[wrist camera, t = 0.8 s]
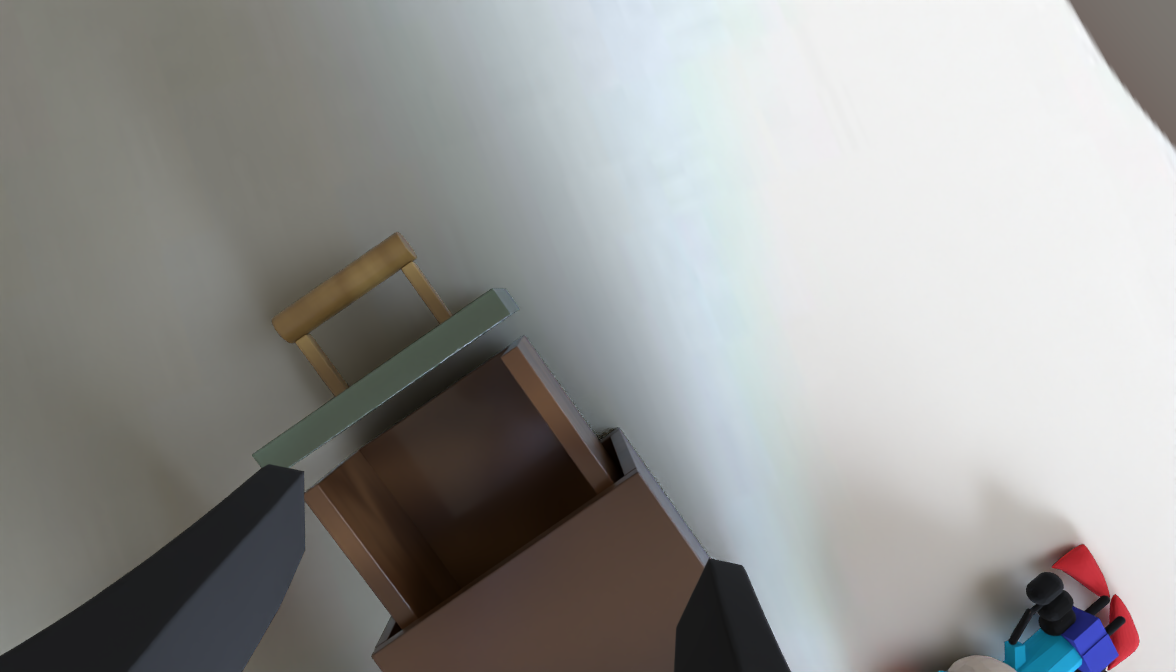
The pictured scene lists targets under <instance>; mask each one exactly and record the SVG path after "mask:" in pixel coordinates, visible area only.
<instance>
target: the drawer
mask: <svg viewBox="0 0 1176 672" xmlns="http://www.w3.org/2000/svg"><path fill="white" fill-rule="evenodd" d="M416 258H417V256H416V254H415V252H414V250H413V249H412V247H411V246H410V244H409V243H408V242H407V240H406V239H405V238H404V237H403V236H402V235H401V234H400V233H399V232H395V233H394V234H392V235H391V236H389V237H388V238H387V239H385V240H384V241H382V242H381V243H379V244H378V245H376V246H375V247H374V248H372V249H371V250H369V251H368V252H366V253H365V254H363V255H362V256H361V257H359V258H358V259H356V260H355V261H353V262H352V263H350V264H349V265H348V266H346V267H345V268H343V269H342V270H340V271H339V272H337V273H336V274H335V275H333V276H332V277H330V278H329V279H327V280H326V281H324V282H323V283H322V284H320V285H319V286H317V287H316V288H314V289H313V290H311V291H310V292H309V293H307V294H306V295H304V296H303V297H301V298H300V299H298V300H297V301H296V302H294V303H293V304H291V305H290V306H288V307H287V308H285V309H284V310H283V311H281V312H280V313H278V314H277V315H275V316H274V317H273V318H272V324H273V326H274V328H275V330H276V331H277V332H278V334H279V335H280V336H281V337H282V338H283V339H284V340H286V341H287V342H289V343H291V344H293V343H296V344H297V346H298V347H299V348H300V350H301V351H302V352H303V354H304V355H305V357H306V358H307V359H308V361H309V362H310V363H311V365H312V366H313V367H314V369H315V370H316V371H317V373H318V374H319V376H320V377H321V378H322V380H323V381H324V382H325V384H326V385H327V386H328V388H329V389H330V390H331V392H332V393H333V395H334V396H335V397H334V398H333V399H331V400H330V401H329V402H327V403H326V404H324V405H323V406H321V407H320V408H318V409H317V410H316V411H314V412H313V413H311V414H310V415H308V416H307V417H305V418H304V419H303V420H301V421H300V422H298V423H297V424H295V425H294V426H292V427H291V428H290V429H288V430H287V431H285V432H284V433H282V434H281V435H279V436H278V437H277V438H275V439H274V440H272V441H271V442H269V443H268V444H266V445H265V446H264V447H262V448H261V449H259V450H258V451H256V452H255V453H253V454H252V456H253V457H254V459H255V460H256V461H257V463H258V464H259V465H260V467H261V468H262V467H264V466H266V465H268V464H271V465H276V466H281V467H285V468H290V467H292V466H293V465H294V464H296V463H297V462H299V461H300V460H302V459H303V458H305V457H306V456H308V455H309V454H311V453H312V452H314V451H315V450H317V449H318V448H320V447H321V446H323V445H324V444H326V443H327V442H329V441H330V440H331V439H333V438H334V437H336V436H337V435H339V434H340V433H342V432H343V431H344V430H346V429H347V428H349V427H350V426H352V425H353V424H355V423H356V422H357V421H359V420H360V419H362V418H363V417H365V416H366V415H368V414H369V413H370V412H372V411H373V410H375V409H376V408H378V407H379V406H381V405H382V404H383V403H385V402H386V401H388V400H389V399H391V398H392V397H394V396H395V395H397V394H398V393H399V392H401V391H402V390H404V389H405V388H407V387H408V386H410V385H411V384H412V383H414V382H415V381H417V380H418V379H420V378H421V377H423V376H424V375H425V374H427V373H428V372H430V371H431V370H433V369H434V368H436V367H437V366H438V365H440V364H441V363H443V362H444V361H446V360H447V359H449V358H450V357H451V356H453V355H454V354H456V353H457V352H459V351H460V350H462V349H463V348H464V347H466V346H467V345H469V344H470V343H472V342H473V341H475V340H476V339H477V338H479V337H480V336H482V335H483V334H485V333H486V332H488V331H489V330H490V329H492V328H493V327H495V326H496V325H498V324H499V323H501V322H502V321H503V320H505V319H506V318H508V317H509V316H511V315H512V314H514V313H515V312H516V311H518V310H519V309H520V308H519V306H518V305H517V304H516V302H515V301H514V299H513V298H512V296H511V295H510V294H509V292H508V291H507V289H506V288H493V289H490V290H489V291H488V292H486V293H485V294H483V295H482V296H480V297H479V298H477V299H476V300H475V301H473V302H472V303H470V304H469V305H467V306H466V307H464V308H463V309H462V310H460V311H459V312H457V313H456V314H454V315H452V314H451V312H450V311H449V309H448V308H447V307H446V305H445V304H444V302H443V301H442V300H441V298H440V297H439V295H438V294H437V293H436V291H435V290H434V288H433V287H432V286H431V284H430V283H429V281H428V280H427V278H426V277H425V276H424V274H423V273H422V271H421V270H420V269H419V267H418V266H417V264H416V263H415V262H413V261H414V260H415V259H416ZM399 270H402V272H403V273H404V274H405V276H406V277H407V279H408V280H409V281H410V283H411V284H412V286H413V287H414V288H415V290H416V291H417V293H418V294H419V295H420V297H421V298H422V300H423V301H424V302H425V304H426V305H427V307H428V308H429V309H430V311H431V312H432V314H433V315H434V316H435V318H436V319H437V321H438V322H439V323H440V325H438V326H437V327H436V328H434V329H433V330H431V331H430V332H428V333H427V334H425V335H424V336H423V337H421V338H420V339H418V340H417V341H415V342H414V343H412V344H411V345H410V346H408V347H407V348H405V349H404V350H402V351H401V352H399V353H398V354H397V355H395V356H394V357H392V358H391V359H389V360H388V361H386V362H385V363H384V364H382V365H381V366H379V367H378V368H376V369H375V370H373V371H372V372H370V373H369V374H368V375H366V376H365V377H363V378H362V379H360V380H359V381H357V382H356V383H355V384H353V385H352V386H350V387H349V386H348V384H347V383H346V382H345V380H344V379H343V377H342V376H341V375H340V373H339V372H338V371H337V369H336V368H335V367H334V365H333V364H332V362H331V361H330V360H329V358H328V357H327V356H326V354H325V353H324V352H323V350H322V349H321V347H320V346H319V345H318V343H317V342H316V341H315V339H314V338H313V337H312V335H311V334H308V333H310V332H311V331H313V330H314V329H316V328H317V327H319V326H320V325H321V324H323V323H324V322H326V321H327V320H329V319H330V318H332V317H333V316H334V315H336V314H337V313H339V312H340V311H342V310H343V309H345V308H346V307H347V306H349V305H350V304H352V303H353V302H355V301H356V300H358V299H359V298H360V297H362V296H363V295H365V294H366V293H368V292H369V291H371V290H372V289H373V288H375V287H376V286H378V285H379V284H381V283H382V282H384V281H385V280H386V279H388V278H389V277H391V276H392V275H394V274H395V273H397V272H398V271H399ZM623 477H624V475H623V474H622V472H621V471H620V470H619V468H618V467H617V465H616V464H615V462H614V461H613V460H612V458H611V457H610V455H609V454H608V452H607V451H606V450H605V448H604V447H603V445H602V444H601V442H600V441H599V440H598V438H597V437H596V435H595V434H594V432H593V431H592V430H591V428H590V427H589V425H588V424H587V423H586V421H585V420H584V418H583V417H582V415H581V414H580V413H579V411H578V410H577V408H576V407H575V405H574V404H573V403H572V401H571V400H570V398H569V397H568V395H567V394H566V393H565V391H564V390H563V388H562V387H561V385H560V384H559V383H558V381H557V380H556V378H555V377H554V375H553V374H552V373H551V371H550V370H549V368H548V367H547V365H546V364H545V363H544V361H543V360H542V358H541V357H540V355H539V354H538V353H537V351H536V350H535V348H534V347H533V345H532V344H531V343H530V341H529V340H528V338H527V337H526V336H525V335H523V336H522V337H520V338H519V339H517V340H516V341H514V342H513V343H512V344H510V345H509V346H507V347H506V348H504V349H503V350H501V351H500V352H499V353H497V354H496V355H494V356H493V357H491V358H490V359H488V360H487V361H486V362H484V363H483V364H481V365H480V366H478V367H477V368H475V369H474V370H472V371H471V372H470V373H468V374H467V375H465V376H464V377H462V378H461V379H459V380H458V381H457V382H455V383H454V384H452V385H451V386H449V387H448V388H446V389H445V390H444V391H442V392H441V393H439V394H438V395H436V396H435V397H433V398H432V399H431V400H429V401H428V402H426V403H425V404H423V405H422V406H420V407H419V408H418V409H416V410H415V411H413V412H412V413H410V414H409V415H407V416H406V417H405V418H403V419H402V420H400V421H399V422H397V423H396V424H394V425H393V426H392V427H390V428H389V429H387V430H386V431H384V432H383V433H381V434H380V435H379V436H377V437H376V438H374V439H373V440H371V441H370V442H368V443H367V444H366V445H364V446H363V447H361V448H360V449H358V450H357V451H355V452H354V453H352V454H351V455H350V456H349V457H347V458H346V459H345V460H344V461H342V462H341V463H340V464H339V465H337V466H336V467H335V468H334V469H333V470H331V471H330V472H329V473H328V474H326V475H325V476H324V477H323V478H322V479H320V480H319V481H318V482H317V483H315V484H314V485H313V486H312V487H310V488H309V489H308V490H307V491H306V492H304V500H305V502H306V503H307V504H308V506H309V507H310V508H311V510H312V511H313V512H314V514H315V515H316V516H317V518H318V519H319V520H320V522H321V523H322V524H323V526H324V527H325V528H326V530H327V531H328V532H329V534H330V535H331V536H332V538H333V539H334V540H335V542H336V543H337V544H338V546H339V547H340V548H341V549H342V551H343V552H344V553H345V555H346V556H347V557H348V559H349V560H350V561H351V563H352V564H353V565H354V567H355V568H356V569H357V571H358V572H359V573H360V575H361V576H362V577H363V579H364V580H365V581H366V583H367V584H368V585H369V587H370V588H371V589H372V591H373V592H374V593H375V595H376V596H377V597H378V599H379V600H380V601H381V603H382V604H383V605H384V607H385V608H386V609H387V611H388V612H389V613H390V615H391V616H392V617H393V619H394V620H395V621H396V622H397V624H398V625H399V626H400V628H401V629H402V630H403V629H404V628H405V627H407V626H408V625H410V624H411V623H413V622H414V621H416V620H417V619H418V618H420V617H421V616H423V615H424V614H426V613H427V612H429V611H430V610H432V609H433V608H434V607H436V606H437V605H439V604H440V603H442V602H443V601H445V600H446V599H447V598H449V597H450V596H452V595H453V594H455V593H456V592H458V591H459V590H460V589H462V588H463V587H465V586H466V585H468V584H469V583H471V582H472V581H474V580H475V579H476V578H478V577H479V576H481V575H482V574H484V573H485V572H487V571H488V570H489V569H491V568H492V567H494V566H495V565H497V564H498V563H500V562H501V561H502V560H504V559H505V558H507V557H508V556H510V555H511V554H513V553H514V552H515V551H517V550H518V549H520V548H521V547H523V546H524V545H526V544H527V543H529V542H530V541H531V540H533V539H534V538H536V537H537V536H539V535H540V534H542V533H543V532H544V531H546V530H547V529H549V528H550V527H552V526H553V525H555V524H556V523H557V522H559V521H560V520H562V519H563V518H565V517H566V516H568V515H569V514H570V513H572V512H573V511H575V510H576V509H578V508H579V507H581V506H582V505H584V504H585V503H586V502H588V501H589V500H591V499H592V498H594V497H595V496H597V495H598V494H599V493H601V492H602V491H604V490H605V489H607V488H608V487H610V486H611V485H612V484H614V483H615V482H617V481H618V480H620V479H621V478H623Z"/></svg>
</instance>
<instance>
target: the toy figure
mask: <svg viewBox="0 0 1176 672" xmlns="http://www.w3.org/2000/svg"><path fill="white" fill-rule="evenodd" d="M1052 568H1055V569H1060V570H1062V571H1063V572H1065V573H1067V574H1068V575H1070V576H1071V577H1073V578H1074V579H1075V580H1077V581H1078V582H1080V583H1081V584H1082V585H1084V586H1085V587H1086V588H1088V589H1089V590H1090V591H1092V592H1093V593H1095V594H1096V595H1098V596H1100V598H1099V599H1098V600H1097V601H1095V602H1094V603H1093V604H1092V605H1091V606H1090V607H1089V608H1087V609H1086V610H1085V611H1083V610H1080V609H1078V608H1076V607H1074V606H1073V599H1072V597H1071V596H1070V595H1069V593H1067V592H1066V591H1064V590H1063V588H1064V585H1063V582H1062V580H1061V579H1060V578H1059V577H1058V576H1057V575H1056V574H1054V573H1050V572H1043V573H1041V574H1039V575H1038V576H1037V577H1036V578H1035V579H1034V580H1032V581H1031V582H1030V583H1029V584H1028V585H1027V588H1026V594H1027V596H1028V598H1029V599H1030V600H1031V601H1032V602H1034V603H1036V605H1034V606H1033V607H1032V608H1031V609H1029V608H1028V609H1026V611H1025V613H1024V614H1023V616H1022V618H1021V619H1020V621H1019V623H1018V625H1017V626H1016V628H1015V630H1014V631H1013V633H1012V635H1011V637H1010V638H1009V641H1005V642H1004V645H1005V660H1004V661H1003V662H1001V661H999V660H997V659H994V658H992V657H989V656H980V655H972V656H968V657H964V658H961V659H959V660H957V661H956V662H954V663H953V664H952V665H951V667H950V668H949V669H948V671H947V672H1107V671H1105V669H1106V667H1107V666H1108V670H1110V669H1112V668H1113V667H1115V666H1116V665H1118V664H1119V663H1120V662H1122V661H1123V660H1124V659H1126V658H1127V657H1128V656H1130V655H1131V654H1132V653H1133V652H1134V651H1135V650H1136V649H1137V647H1138V646H1139V636H1138V633H1137V630H1136V627H1135V625H1134V622H1133V620H1132V617H1131V615H1130V613H1129V611H1128V610H1127V608H1126V606H1125V605H1124V603H1123V602H1122V600H1121V599H1120V598H1119V597H1118V596H1117V595H1116V594H1115V595H1113V597H1112V599H1111V603H1110V612H1109V625H1108V626H1107V627H1105V628H1104V627H1103V625H1102V623H1101V621H1100V619H1099V618H1098V617H1095V616H1094V615H1096V614H1097V613H1098V612H1099V611H1100V610H1101V609H1102V608H1104V607H1105V606H1106V605H1107V604H1108V603H1109V602H1110V598H1109V597H1110V595H1109V590H1108V587H1107V584H1106V581H1105V578H1104V576H1103V574H1102V572H1101V570H1100V568H1099V566H1098V565H1097V563H1096V561H1095V559H1094V558H1093V556H1092V554H1091V553H1090V551H1089V550H1088V548H1087V547H1086V546H1085V545H1084V544H1081V545H1079V546H1077V547H1075V548H1074V549H1072V550H1070V551H1069V552H1068V553H1066V554H1065V555H1064V556H1063V557H1062V558H1060V559H1059V560H1058V561H1057V562H1056V563H1055V564H1054V565H1053V566H1052ZM1036 612H1037V613H1038V614H1039V616H1040V617H1039V626H1040V627H1041V628H1040V629H1039V630H1038V631H1037V632H1036V633H1034V634H1033V635H1032V636H1031V637H1030V638H1029V639H1028V640H1027V641H1025V642H1024V643H1023V644H1022V643H1020V642H1019V641H1018V639H1019V638H1020V636H1021V634H1022V633H1023V631H1024V629H1025V628H1026V626H1027V624H1028V623H1029V621H1030V619H1031V617H1032V616H1033V615H1034V614H1035V613H1036ZM938 672H945V671H942V670H941V671H938Z"/></svg>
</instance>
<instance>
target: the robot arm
mask: <svg viewBox="0 0 1176 672" xmlns="http://www.w3.org/2000/svg"><path fill="white" fill-rule="evenodd" d="M304 551H305V512H304V471H299V470H295V469H290V468H285V467H281V466H276V465H271V464H268V465H266V466H264V467H262V468H261V469H260V470H259V471H258V472H256V473H255V474H254V475H253V476H252V477H250V478H249V479H248V480H247V481H246V482H244V483H243V484H242V485H241V486H240V487H238V488H237V489H236V490H235V491H234V492H232V493H231V494H230V495H229V496H228V497H226V498H225V499H224V500H223V501H222V502H220V503H219V504H218V505H217V506H215V507H214V508H213V509H212V510H210V511H209V512H208V513H207V514H205V515H204V516H203V517H202V518H200V519H199V520H198V521H197V522H195V523H194V524H193V525H192V526H190V527H189V528H188V529H186V530H185V531H184V532H182V533H181V534H180V535H179V536H177V537H176V538H175V539H173V540H172V541H171V542H169V543H168V544H167V545H165V546H164V547H163V548H162V549H160V550H159V551H158V552H156V553H155V554H154V555H152V556H151V557H150V558H148V559H147V560H146V561H144V562H143V563H141V564H140V565H139V566H137V567H136V568H134V569H133V570H132V571H130V572H129V573H127V574H126V575H124V576H123V577H122V578H120V579H119V580H117V581H116V582H114V583H113V584H112V585H110V586H109V587H107V588H106V589H105V590H103V591H102V592H100V593H99V594H97V595H96V596H95V597H93V598H92V599H90V600H89V601H87V602H86V603H84V604H83V605H81V606H80V607H78V608H77V609H75V610H74V611H72V612H71V613H69V614H67V615H66V616H64V617H63V618H61V619H60V620H58V621H57V622H55V623H53V624H52V625H50V626H49V627H47V628H46V629H44V630H42V631H41V632H39V633H37V634H36V635H34V636H33V637H31V638H29V639H28V640H26V641H24V642H23V643H21V644H20V645H18V646H16V647H15V648H13V649H11V650H10V651H8V652H6V653H4V654H3V655H1V656H0V672H242V671H243V669H244V668H245V666H246V664H247V662H248V661H249V659H250V657H251V656H252V654H253V652H254V650H255V649H256V647H257V645H258V644H259V642H260V640H261V638H262V637H263V635H264V633H265V631H266V630H267V628H268V626H269V625H270V623H271V621H272V619H273V618H274V616H275V614H276V612H277V611H278V609H279V607H280V605H281V603H282V601H283V599H284V596H285V594H286V592H287V590H288V588H289V585H290V583H291V581H292V579H293V576H294V574H295V572H296V569H297V567H298V565H299V562H300V560H301V558H302V555H303V553H304ZM674 672H791V671H790V669H789V667H788V665H787V663H786V661H785V659H784V656H783V654H782V652H781V650H780V648H779V646H778V644H777V641H776V639H775V637H774V635H773V633H772V630H771V628H770V626H769V624H768V622H767V619H766V617H765V615H764V612H763V610H762V608H761V606H760V603H759V601H758V599H757V596H756V594H755V592H754V589H753V587H752V585H751V582H750V580H749V577H748V575H747V573H746V571H745V569H744V567H743V566H742V565H738V564H733V563H729V562H724V561H719V560H715V559H710V558H709V559H708V561H707V563H706V565H705V568H704V570H703V572H702V574H701V576H700V578H699V580H698V582H697V584H696V587H695V589H694V591H693V593H692V595H691V597H690V599H689V601H688V603H687V606H686V608H685V610H684V612H683V614H682V616H681V618H680V620H679V622H678V624H677V627H676V640H675V659H674Z"/></svg>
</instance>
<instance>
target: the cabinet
mask: <svg viewBox="0 0 1176 672" xmlns="http://www.w3.org/2000/svg"><path fill="white" fill-rule="evenodd" d="M599 441H600V442H601V444H602V445H603V447H604V448H605V450H606V451H607V452H608V454H609V455H610V457H611V458H612V460H613V461H614V462H615V464H616V465H617V467H618V468H619V470H620V471H621V472H622V474H623V475H624V477H623V478H621V479H620V480H618V481H617V482H615V483H614V484H612V485H611V486H610V487H608V488H607V489H605V490H604V491H602V492H601V493H599V494H598V495H597V496H595V497H594V498H592V499H591V500H589V501H588V502H586V503H585V504H584V505H582V506H581V507H579V508H578V509H576V510H575V511H573V512H572V513H570V514H569V515H568V516H566V517H565V518H563V519H562V520H560V521H559V522H557V523H556V524H555V525H553V526H552V527H550V528H549V529H547V530H546V531H544V532H543V533H542V534H540V535H539V536H537V537H536V538H534V539H533V540H531V541H530V542H529V543H527V544H526V545H524V546H523V547H521V548H520V549H518V550H517V551H515V552H514V553H513V554H511V555H510V556H508V557H507V558H505V559H504V560H502V561H501V562H500V563H498V564H497V565H495V566H494V567H492V568H491V569H489V570H488V571H487V572H485V573H484V574H482V575H481V576H479V577H478V578H476V579H475V580H474V581H472V582H471V583H469V584H468V585H466V586H465V587H463V588H462V589H460V590H459V591H458V592H456V593H455V594H453V595H452V596H450V597H449V598H447V599H446V600H445V601H443V602H442V603H440V604H439V605H437V606H436V607H434V608H433V609H432V610H430V611H429V612H427V613H426V614H424V615H423V616H421V617H420V618H418V619H417V620H416V621H414V622H413V623H411V624H410V625H408V626H407V627H405V628H404V629H403V630H402V629H401V628H400V626H399V625H398V624H397V622H396V621H395V620H394V619H393V617H392V616H391V617H390V619H389V621H388V623H387V625H386V627H385V629H384V631H383V633H382V635H381V637H380V639H379V641H378V643H377V645H376V647H375V650H374V652H373V654H372V656H371V657H372V659H373V660H374V661H375V663H376V664H377V665H378V666H379V668H380V669H381V670H382V672H674V659H675V640H676V627H677V624H678V622H679V620H680V618H681V616H682V614H683V612H684V610H685V608H686V606H687V603H688V601H689V599H690V597H691V595H692V593H693V591H694V589H695V587H696V584H697V582H698V580H699V578H700V576H701V574H702V572H703V570H704V568H705V565H706V563H707V561H708V559H709V558H710V557H709V556H708V554H707V553H706V551H705V550H704V549H703V547H702V546H701V544H700V543H699V541H698V540H697V538H696V537H695V536H694V534H693V533H692V531H691V530H690V528H689V527H688V526H687V524H686V523H685V521H684V520H683V518H682V517H681V515H680V514H679V513H678V511H677V510H676V508H675V507H674V505H673V504H672V503H671V501H670V500H669V498H668V497H667V495H666V494H665V493H664V491H663V490H662V488H661V487H660V485H659V484H658V482H657V481H656V480H655V478H654V477H653V475H652V474H651V472H650V471H649V470H648V468H647V467H646V465H645V464H644V462H643V461H642V460H641V458H640V457H639V455H638V454H637V452H636V451H635V449H634V448H633V447H632V445H631V444H630V442H629V441H628V439H627V438H626V437H625V435H624V434H623V432H622V431H621V429H620V428H616V429H615V430H614V431H612V432H611V433H609V434H608V435H606V436H605V437H603V438H602V439H601V440H599Z"/></svg>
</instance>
